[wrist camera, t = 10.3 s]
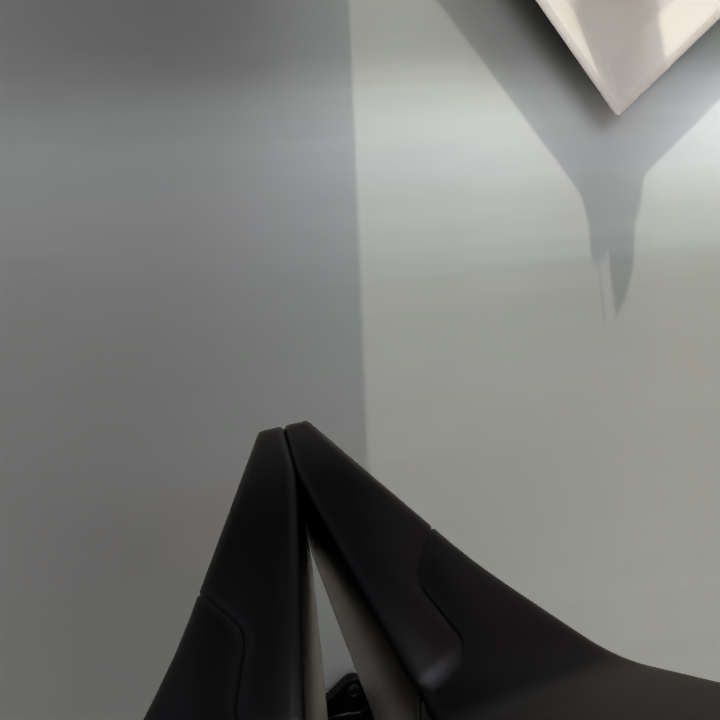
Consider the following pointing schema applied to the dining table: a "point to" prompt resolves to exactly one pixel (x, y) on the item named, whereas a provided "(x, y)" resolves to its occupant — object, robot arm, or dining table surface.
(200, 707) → the robot arm
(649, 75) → the dessert
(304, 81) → the dining table surface
